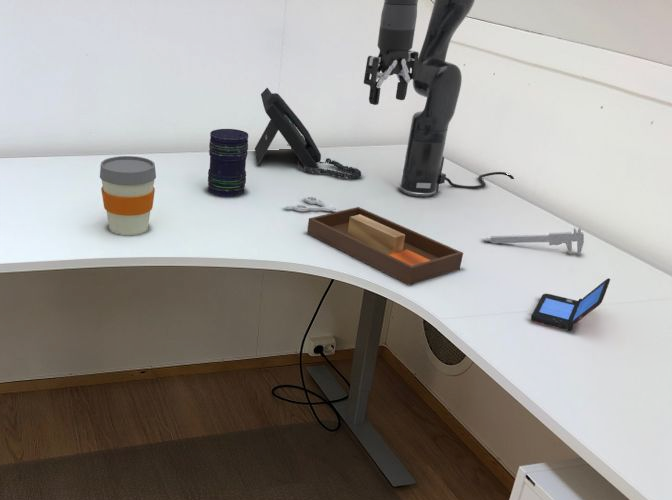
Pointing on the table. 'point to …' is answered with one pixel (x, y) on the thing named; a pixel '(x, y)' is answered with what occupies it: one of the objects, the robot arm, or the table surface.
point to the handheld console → (567, 308)
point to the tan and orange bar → (382, 239)
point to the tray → (335, 234)
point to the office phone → (294, 137)
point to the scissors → (306, 208)
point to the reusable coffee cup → (128, 193)
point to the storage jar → (227, 162)
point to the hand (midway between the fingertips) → (387, 101)
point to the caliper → (545, 239)
